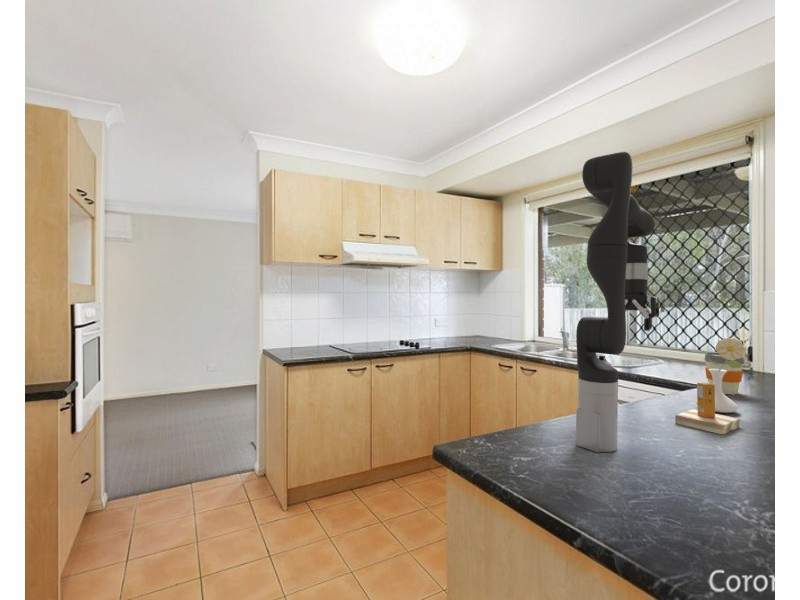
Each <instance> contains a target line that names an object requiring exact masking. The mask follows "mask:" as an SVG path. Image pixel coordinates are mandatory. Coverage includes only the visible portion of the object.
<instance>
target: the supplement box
mask: <svg viewBox="0 0 800 600" xmlns="http://www.w3.org/2000/svg"><path fill="white" fill-rule="evenodd" d="M696 392H697V393H696V395H697V397H696V402H697V404H696V405H697V406H696V407H697V408H696V409H697V410H698V415H699V416H701V417H704V418H715V414H716V412H715V385H714V384H710V383H708V382H697V383H696Z"/></svg>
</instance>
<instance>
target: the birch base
mask: <svg viewBox="0 0 800 600" xmlns="http://www.w3.org/2000/svg"><path fill="white" fill-rule="evenodd" d="M674 415H675V419H674V421H675V422H674V423H675V424H678V425H682V426H686V427H689V428H695V429H698V430H703V431H707V432H711V433H715V434H719V435H722V434H723V435H725V434H727V433H729V431H730V432H731V430H732V431H734V430H736V429H739V428H740V419H741V418H737V417H733V416H728V415H723V414H719V413H715V418H704V417H701V416H699V415H698V409H697V408H696V409H695V408H692V409H689V410H685V411H683V412H679V413H678V414H674ZM738 427H739V428H738Z"/></svg>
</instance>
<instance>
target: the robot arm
mask: <svg viewBox="0 0 800 600" xmlns="http://www.w3.org/2000/svg"><path fill="white" fill-rule="evenodd" d="M630 154H631V153H629V152H626V151H621V152H620V151H619V152H613V153H610V154H605V155H600V156H595V157H592V158H590V159H588V160H586V161H585V162H584V164H583V167H582V174H581V175H582V177H581V178H582V182H583V185H584V188H585V189H586V191H587V192H588V193H589V194H591V196H593V197H594V198H595V199H597V201H598V202H600V203H601V204H602V205H604V206H605V207H606V208H607V210H606V212H605V214H604V216H602V218H601V220H600V221H599V223H598V224H597V225H596V226H595V228H594V229H593V231H592V233H590V234H591V235H590V236H589V238H588V240H587V249H586V251H587V252H586V267H587V270H588V273H589V274H590V276H591V278H592V279H593V281H594V282H595V284H596V285H597V286H598V288H599V291H600V292H601V294H602V295H603V297H604V300H605V303H606V309H607V317H604V316H603V317H602V316H601V317H600V316H584V317H581V318H580V319H579V320H578V323H577V326H576V332H575V333H576V335H575V336H576V337H575V338H576V339H575V340H576V363H577V364H576V365H577V372H578V379H577V380H578V381H577V382H578V387H577V393H578V394H577V408H576V409H575V411H576V412H575V414H576V417H575V418H576V419H575V425H576V426H575V445H576V446H578V447H581V448H584V449H586V450H589V451H592V452H595V453H611V452H612V453H613V452H615V451H618V424H619V423H618V419H619V417H618V416H619V415H618V413H619V412H618V409H619V408H618V407H619V371H618V370H617V369H616V368H615V367H613V366H612V365H611V366H612V367H611V366H609V365H607V364H605V363H603V362H602V361H601V360H600V359H599V356H597V354H607V355H615V356H619V355H620V354H622V353H623V351H624V349H625V347H626V341H627V340H626V339H627V319H626V315H627V314H626V312H627V311H639V312H640V313H641V314H642V315H643V317H644V318H643V320H644V321H643V331H645V332H649V331H651V330H652V328H653V324H652V323H653V318H656V317H659V316H660V304H659V303H660V301H659V297H658V296H651V297H648V290H649V289H648V286H649V285H648V282H649V281H648V278H649V274H648V273H649V271H648V248H647V246H646V245H645V244H639V243H633V242H631V240H630V238H639V237H640V238H641V237H648V236H649V235H651V234H652V233H653V232H654V230H655V227H656V223H655V219H654V217H653V215H652V214H651V213H650V212H648V211H647V210H645V208H643V207H641V206H640V205H639V203H638V200H637V199H636V198H635V197H634V196H633V195H632V194H631V191H632V182H633V181H632V180H633V172H634V170H633V167H634V166H633V160H632V157H631V155H630ZM648 303H649V304H650V308H649V307H648V306H647V304H648Z"/></svg>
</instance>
